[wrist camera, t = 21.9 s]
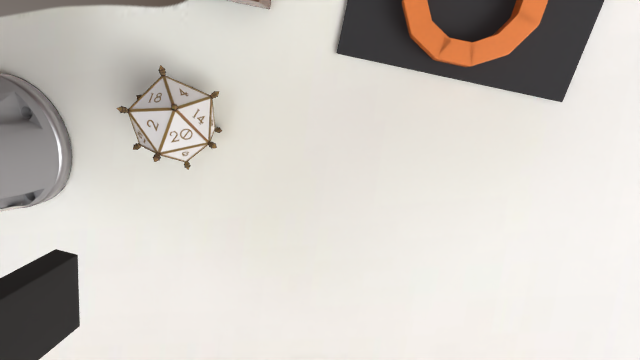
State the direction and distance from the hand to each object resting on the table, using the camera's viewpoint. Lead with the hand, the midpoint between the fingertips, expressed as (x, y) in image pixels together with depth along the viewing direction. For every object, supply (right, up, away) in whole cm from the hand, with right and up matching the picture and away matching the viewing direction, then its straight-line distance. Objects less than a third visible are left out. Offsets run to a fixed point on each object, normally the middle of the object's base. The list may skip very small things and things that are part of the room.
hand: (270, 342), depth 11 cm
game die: (-11, +12, +26) cm, 30 cm away
